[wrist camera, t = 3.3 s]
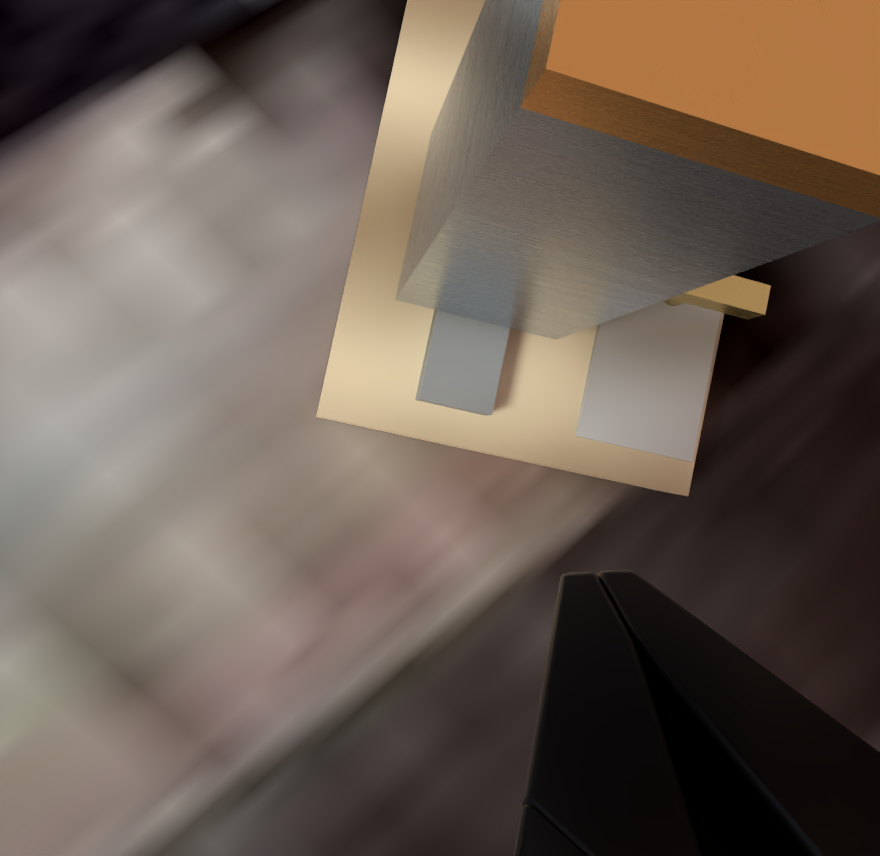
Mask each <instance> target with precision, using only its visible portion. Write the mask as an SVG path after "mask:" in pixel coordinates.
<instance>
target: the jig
mask: <svg viewBox="0 0 880 856" xmlns="http://www.w3.org/2000/svg"><path fill="white" fill-rule="evenodd" d="M484 3H485V0H407V4H406V9H405V14H404V18H403V23H402V27H401V32H400V36H399V41H398V45H397V50H396V55H395V59H394V64H393V68H392V73H391V77H390V82H389V87H388V91H387V96H386V100H385V105H384V109H383V114H382V119H381V123H380V128H379V132H378V137H377V141H376V146H375V151H374V155H373V160H372V164H371V169H370V173H369V178H368V182H367V187H366V192H365V196H364V201H363V205H362V210H361V214H360V219H359V224H358V228H357V233H356V237H355V242H354V246H353V251H352V256H351V260H350V265H349V269H348V274H347V278H346V283H345V288H344V292H343V297H342V301H341V306H340V310H339V315H338V319H337V324H336V329H335V333H334V338H333V342H332V347H331V351H330V356H329V361H328V365H327V370H326V374H325V379H324V383H323V388H322V393H321V397H320V402H319V406H318V411H317V415H316V417H318V418H323V419H328V420H332V421H337V422H342V423H346V424H351V425H356V426H360V427H365V428H370V429H374V430H379V431H384V432H388V433H393V434H397V435H402V436H407V437H411V438H416V439H421V440H425V441H430V442H435V443H439V444H444V445H449V446H453V447H458V448H463V449H467V450H472V451H476V452H481V453H486V454H490V455H495V456H500V457H504V458H509V459H514V460H518V461H523V462H528V463H532V464H537V465H542V466H546V467H551V468H555V469H560V470H565V471H569V472H574V473H579V474H583V475H588V476H593V477H597V478H602V479H607V480H611V481H616V482H621V483H625V484H630V485H635V486H639V487H644V488H648V489H653V490H658V491H662V492H667V493H673V494H678V495H684V496H688V495H689V490H690V485H691V480H692V475H693V470H694V465H695V460H696V454H697V449H698V444H699V439H700V434H701V429H702V424H703V419H704V414H705V409H706V404H707V399H708V393H709V388H710V383H711V378H712V373H713V368H714V363H715V358H716V353H717V348H718V343H719V337H720V332H721V327H722V322H723V317H724V313H721V312H717V311H714V310H710V309H706V308H703V307H699V306H695V305H691V304H688V303H684V304H681V305H678V306H669V305H667V304H666V303H665V302H664V301H661V302H658V303H656V304H653V305H650V306H647V307H645V308H642V309H639V310H637V311H634V312H631V313H628V314H626V315H623V316H620V317H617V318H615V319H612V320H609V321H606V322H604V323H601V324H598V325H596V326H593V327H590V328H587V329H585V330H582V331H579V332H576V333H574V334H571V335H568V336H565V337H563V338H560V339H557V340H555V339H551V338H547V337H543V336H539V335H535V334H531V333H526V332H522V331H518V330H514V329H510V328H506V327H502V326H498V325H494V324H490V323H486V322H482V321H478V320H474V319H470V318H466V317H462V316H458V315H454V314H450V313H446V312H442V311H438V310H434V309H430V308H426V307H422V306H418V305H414V304H410V303H406V302H402V301H398V300H395V298H396V294H397V289H398V284H399V280H400V275H401V270H402V266H403V261H404V257H405V252H406V247H407V243H408V238H409V233H410V229H411V224H412V219H413V215H414V210H415V206H416V201H417V196H418V192H419V187H420V182H421V178H422V173H423V168H424V164H425V159H426V155H427V150H428V145H429V141H430V136H431V133H432V130H433V128H434V125H435V123H436V120H437V118H438V115H439V113H440V111H441V108H442V106H443V103H444V101H445V98H446V96H447V93H448V91H449V88H450V86H451V84H452V81H453V79H454V76H455V74H456V71H457V69H458V66H459V64H460V61H461V59H462V57H463V54H464V52H465V49H466V47H467V44H468V42H469V39H470V37H471V34H472V32H473V30H474V27H475V25H476V22H477V20H478V17H479V15H480V12H481V10H482V7H483V5H484Z"/></svg>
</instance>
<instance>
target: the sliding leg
mask: <svg viewBox="0 0 880 856" xmlns="http://www.w3.org/2000/svg"><path fill="white" fill-rule="evenodd" d="M877 222H880V0H485V3H484V5H483V7H482V10H481V12H480V15H479V17H478V20H477V22H476V25H475V27H474V30H473V32H472V34H471V37H470V39H469V42H468V44H467V47H466V49H465V52H464V54H463V57H462V59H461V61H460V64H459V66H458V69H457V71H456V74H455V76H454V79H453V81H452V84H451V86H450V88H449V91H448V93H447V96H446V98H445V101H444V103H443V106H442V108H441V111H440V113H439V115H438V118H437V120H436V123H435V125H434V128H433V130H432V133H431V136H430V141H429V145H428V150H427V155H426V159H425V164H424V168H423V173H422V178H421V182H420V187H419V192H418V196H417V201H416V206H415V210H414V215H413V219H412V224H411V229H410V233H409V238H408V243H407V247H406V252H405V257H404V261H403V266H402V270H401V275H400V280H399V284H398V289H397V294H396V298H395V300H398V301H402V302H406V303H410V304H414V305H418V306H422V307H426V308H430V309H434V310H438V311H442V312H446V313H450V314H454V315H458V316H462V317H466V318H470V319H474V320H478V321H482V322H486V323H490V324H494V325H498V326H502V327H506V328H510V329H514V330H518V331H522V332H526V333H531V334H535V335H539V336H543V337H547V338H551V339H555V340H557V339H560V338H563V337H565V336H568V335H571V334H574V333H576V332H579V331H582V330H585V329H587V328H590V327H593V326H596V325H598V324H601V323H604V322H606V321H609V320H612V319H615V318H617V317H620V316H623V315H626V314H628V313H631V312H634V311H637V310H639V309H642V308H645V307H647V306H650V305H653V304H656V303H658V302H661V301H664V302H665V303H666V304H667V305H669V306H678V305H681V304H684V303H688V304H691V305H695V306H699V307H703V308H706V309H710V310H714V311H717V312H721V313H725V314H729V315H732V316H736V317H740V318H744V319H751V318H755V317H759V316H762V315H765V313H766V308H767V303H768V298H769V293H770V287H771V286H770V285H767V284H763V283H760V282H756V281H752V280H749V279H745V278H742V277H738V276H735V274H738V273H740V272H743V271H746V270H749V269H751V268H754V267H757V266H760V265H762V264H765V263H768V262H770V261H773V260H776V259H779V258H781V257H784V256H787V255H790V254H792V253H795V252H798V251H801V250H803V249H806V248H809V247H811V246H814V245H817V244H820V243H822V242H825V241H828V240H831V239H833V238H836V237H839V236H842V235H844V234H847V233H850V232H852V231H855V230H858V229H861V228H863V227H866V226H869V225H872V224H874V223H877Z"/></svg>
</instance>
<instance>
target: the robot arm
mask: <svg viewBox="0 0 880 856" xmlns="http://www.w3.org/2000/svg"><path fill="white" fill-rule="evenodd" d="M512 856H880V752H879V751H877V750H876V749H874V748H873V747H872V746H870V745H869V744H868V743H866V742H865V741H864V740H862V739H861V738H859V737H858V736H857V735H855V734H854V733H853V732H851V731H850V730H849V729H847V728H846V727H845V726H843V725H842V724H840V723H839V722H838V721H836V720H835V719H834V718H832V717H831V716H830V715H828V714H827V713H825V712H824V711H823V710H821V709H820V708H819V707H817V706H816V705H815V704H813V703H812V702H810V701H809V700H808V699H806V698H805V697H804V696H802V695H801V694H800V693H798V692H797V691H796V690H794V689H793V688H791V687H790V686H789V685H787V684H786V683H785V682H783V681H782V680H781V679H779V678H778V677H776V676H775V675H774V674H772V673H771V672H770V671H768V670H767V669H766V668H764V667H763V666H762V665H760V664H759V663H757V662H756V661H755V660H753V659H752V658H751V657H749V656H748V655H747V654H745V653H744V652H742V651H741V650H740V649H738V648H737V647H736V646H734V645H733V644H732V643H730V642H729V641H728V640H726V639H725V638H723V637H722V636H721V635H719V634H718V633H717V632H715V631H714V630H713V629H711V628H710V627H708V626H707V625H706V624H704V623H703V622H702V621H700V620H699V619H698V618H696V617H695V616H694V615H692V614H691V613H689V612H688V611H687V610H685V609H684V608H683V607H681V606H680V605H679V604H677V603H676V602H674V601H673V600H672V599H670V598H669V597H668V596H666V595H665V594H664V593H662V592H661V591H659V590H658V589H657V588H655V587H654V586H653V585H651V584H650V583H649V582H647V581H646V580H645V579H643V578H642V577H640V576H639V575H638V574H636V573H635V572H633V571H631V570H612V571H601V572H600V573H598V574H597V575H596V574H595V573H593V572H574V573H565V574H563V575H562V576H561V578H560V583H559V589H558V595H557V601H556V607H555V612H554V618H553V624H552V630H551V636H550V642H549V648H548V654H547V660H546V666H545V671H544V677H543V683H542V689H541V695H540V701H539V707H538V713H537V719H536V725H535V730H534V736H533V742H532V748H531V754H530V760H529V766H528V772H527V778H526V784H525V789H524V795H523V803H522V807H521V810H520V816H519V822H518V828H517V833H516V839H515V845H514V850H513V855H512Z"/></svg>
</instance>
